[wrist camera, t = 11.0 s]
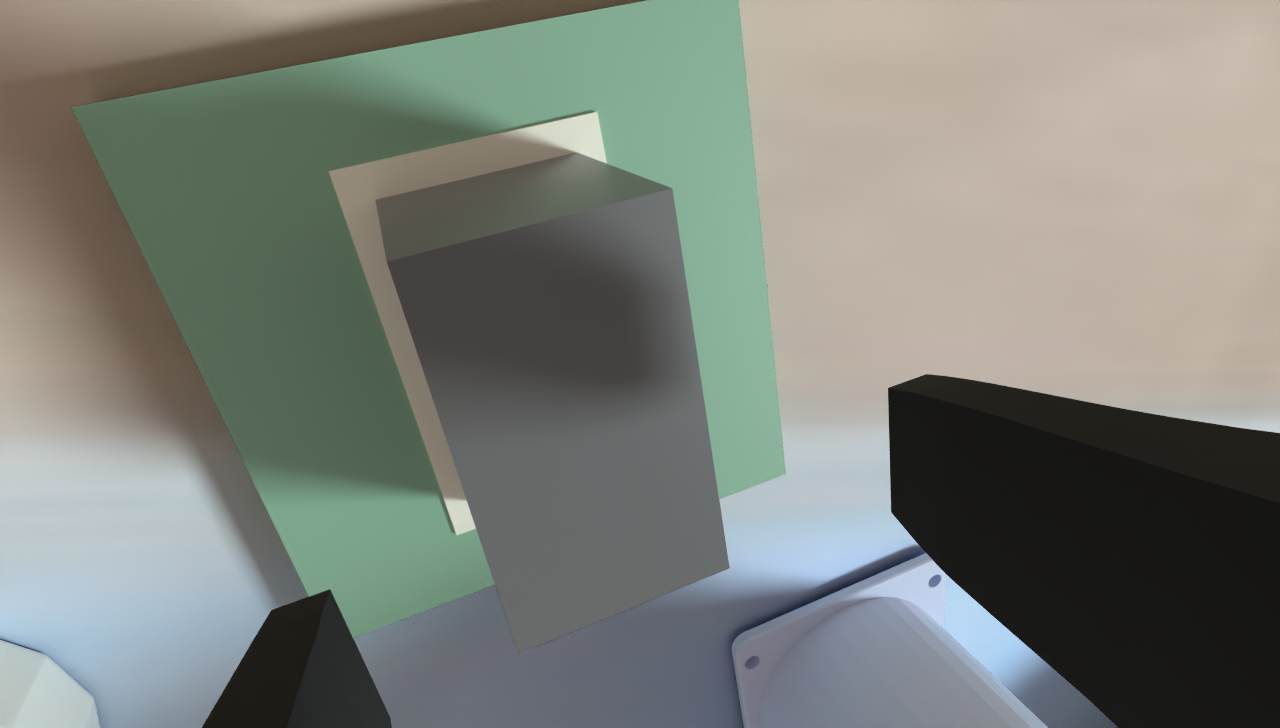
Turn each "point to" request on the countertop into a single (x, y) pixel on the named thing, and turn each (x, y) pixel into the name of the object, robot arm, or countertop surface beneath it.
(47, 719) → the white cup
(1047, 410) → the robot arm
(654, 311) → the block
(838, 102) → the countertop surface
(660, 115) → the board
